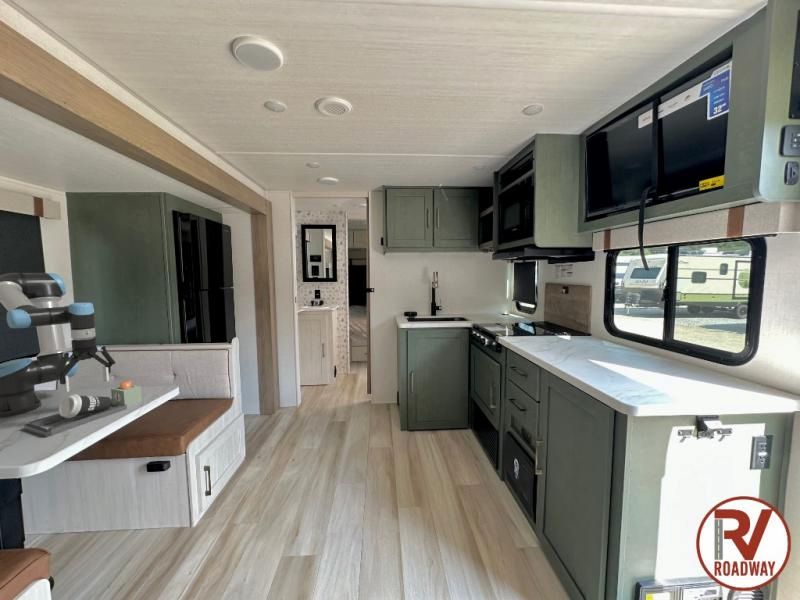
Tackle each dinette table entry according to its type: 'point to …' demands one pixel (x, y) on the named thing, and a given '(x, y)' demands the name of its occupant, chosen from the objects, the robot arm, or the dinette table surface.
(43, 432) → the gray rectangular frame
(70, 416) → the coffee cup
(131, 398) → the cabinet
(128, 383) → the egg
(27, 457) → the dinette table surface
